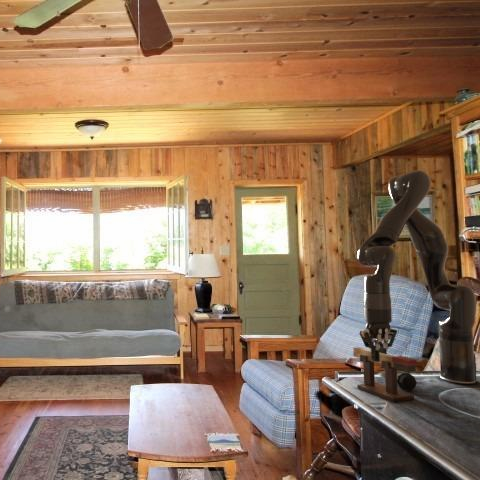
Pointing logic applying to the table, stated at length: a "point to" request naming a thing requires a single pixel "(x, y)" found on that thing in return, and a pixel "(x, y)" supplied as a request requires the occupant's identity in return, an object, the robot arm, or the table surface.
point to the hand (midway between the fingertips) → (379, 360)
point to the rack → (379, 389)
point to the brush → (389, 359)
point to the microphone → (405, 381)
